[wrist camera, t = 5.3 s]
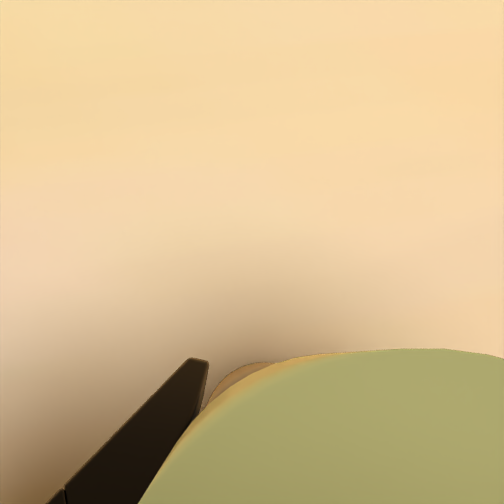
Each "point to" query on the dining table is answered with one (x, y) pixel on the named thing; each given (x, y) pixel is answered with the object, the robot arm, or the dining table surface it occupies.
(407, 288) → the dining table surface
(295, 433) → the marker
